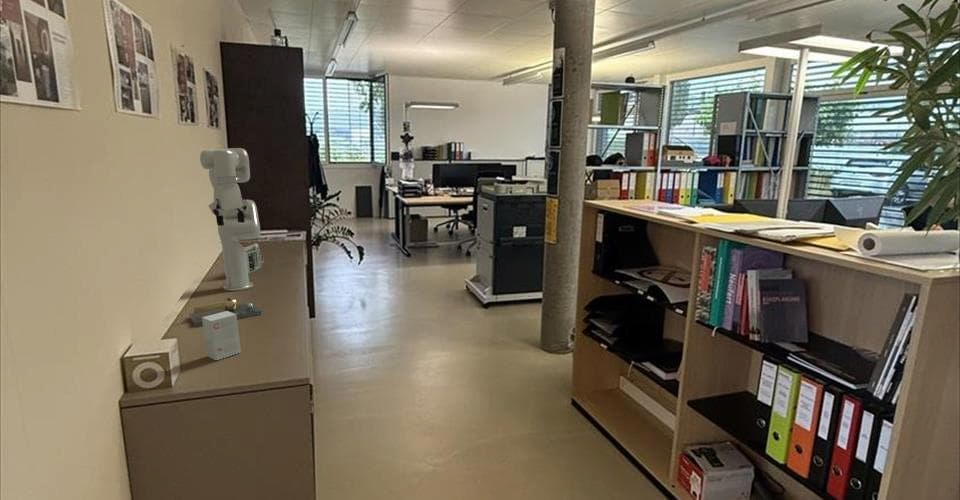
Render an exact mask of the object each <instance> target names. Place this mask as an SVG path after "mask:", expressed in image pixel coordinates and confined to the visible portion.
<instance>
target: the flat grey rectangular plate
mask: <svg viewBox="0 0 960 500" xmlns="http://www.w3.org/2000/svg"><path fill="white" fill-rule="evenodd" d="M225 311H226V310H225V308H224V309H219V310H213V311H208V312H202V313H197V314H194V313H193V312H192V313H188V316H189V319H190V321H191V323H192V324H193V325H194V327H195V328H198V327H203V323H202V317H205V316H209V315H213V314H217V313H221V312H225ZM229 312H231V313H234V314H236V317H237V320H240V319H245V318H249V317H254V316H255V317H256V316H261V315H262V310H261V309H260V308H259V307H257V305H256V304H255V303H254V302H250V301H248V302H246V303H243V304H242V303H241V304H237V309H236V310H232V311H229Z"/></svg>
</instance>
